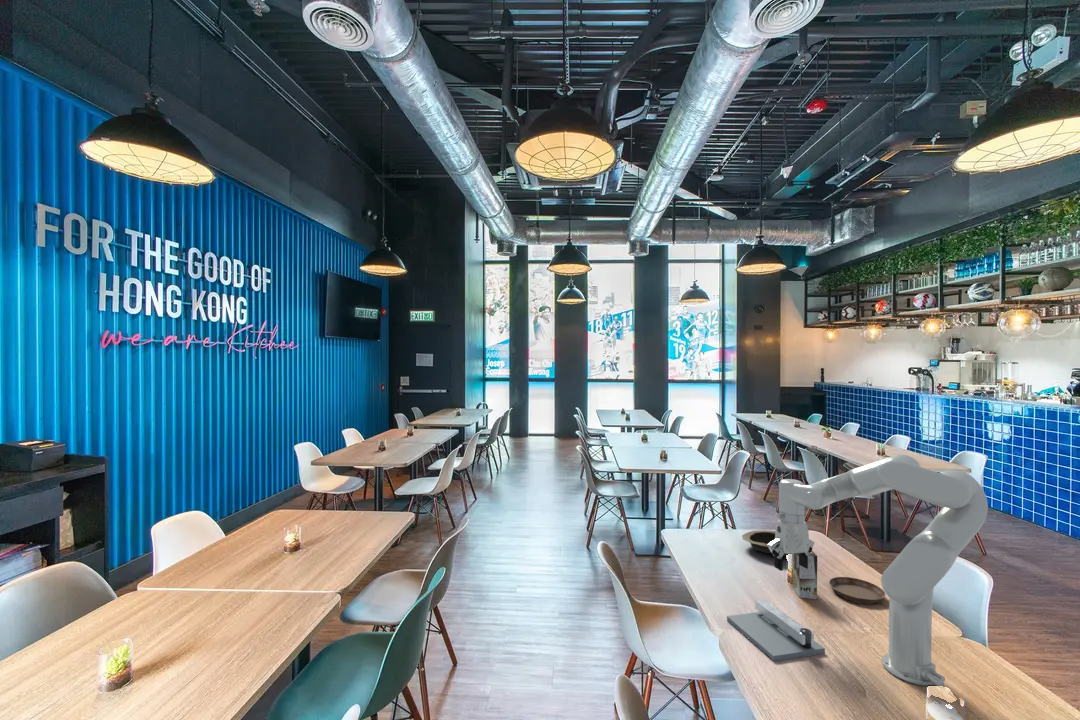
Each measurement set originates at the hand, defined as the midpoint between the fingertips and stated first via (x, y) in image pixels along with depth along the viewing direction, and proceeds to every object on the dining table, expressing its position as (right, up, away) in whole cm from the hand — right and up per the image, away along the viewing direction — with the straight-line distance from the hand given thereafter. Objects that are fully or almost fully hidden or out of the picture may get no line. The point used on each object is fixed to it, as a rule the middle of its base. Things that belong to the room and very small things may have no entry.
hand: (791, 567), depth 157 cm
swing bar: (-6, -16, -7) cm, 19 cm away
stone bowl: (+23, -20, +59) cm, 66 cm away
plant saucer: (+36, -20, +20) cm, 45 cm away
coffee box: (+16, -19, +21) cm, 32 cm away
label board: (-10, -18, -8) cm, 22 cm away
